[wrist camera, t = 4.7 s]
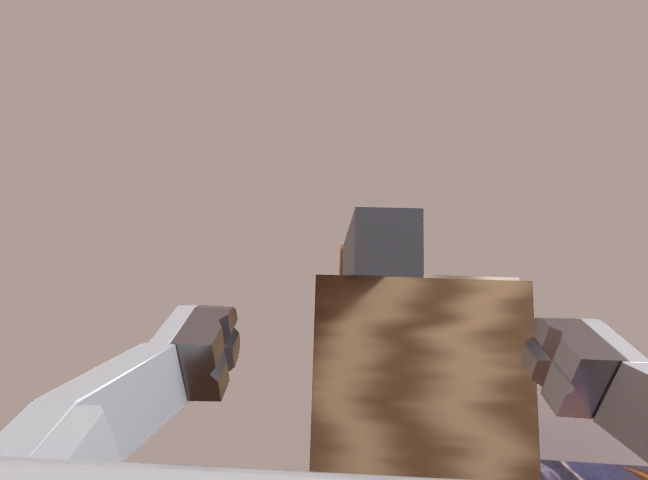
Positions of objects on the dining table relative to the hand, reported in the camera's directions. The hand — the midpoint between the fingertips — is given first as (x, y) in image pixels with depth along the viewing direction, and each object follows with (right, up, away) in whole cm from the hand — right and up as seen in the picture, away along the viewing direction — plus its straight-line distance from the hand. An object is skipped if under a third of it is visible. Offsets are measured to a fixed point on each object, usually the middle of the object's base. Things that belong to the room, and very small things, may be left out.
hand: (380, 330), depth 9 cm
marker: (+1, 0, +12) cm, 12 cm away
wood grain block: (+4, -26, +14) cm, 30 cm away
